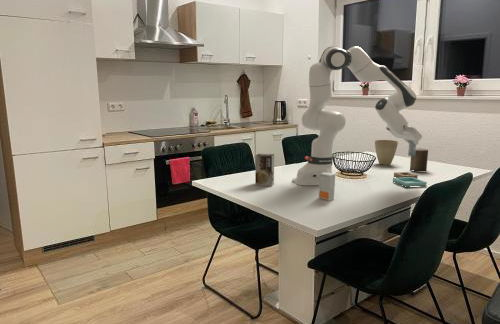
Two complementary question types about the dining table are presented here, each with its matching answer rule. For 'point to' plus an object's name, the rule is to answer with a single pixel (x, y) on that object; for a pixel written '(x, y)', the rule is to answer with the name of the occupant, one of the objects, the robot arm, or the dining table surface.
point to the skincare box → (326, 186)
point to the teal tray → (409, 181)
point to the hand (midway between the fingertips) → (413, 143)
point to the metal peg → (411, 148)
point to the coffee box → (264, 169)
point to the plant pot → (385, 151)
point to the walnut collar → (404, 175)
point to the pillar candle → (419, 160)
